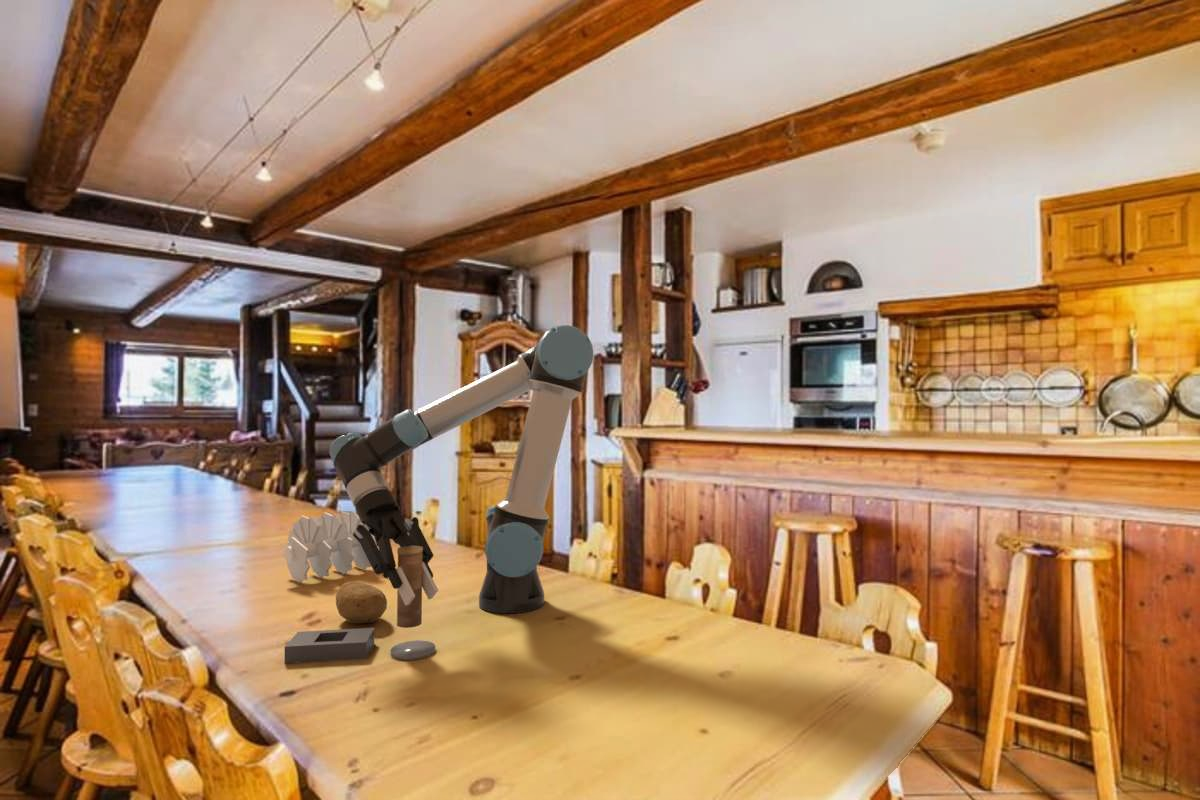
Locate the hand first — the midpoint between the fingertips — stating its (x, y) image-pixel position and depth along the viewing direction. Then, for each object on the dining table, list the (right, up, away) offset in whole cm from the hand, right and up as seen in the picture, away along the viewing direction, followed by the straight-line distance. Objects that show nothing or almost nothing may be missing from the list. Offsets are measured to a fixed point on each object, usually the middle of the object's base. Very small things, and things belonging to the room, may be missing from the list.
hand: (422, 597), depth 120 cm
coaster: (-2, -11, +2) cm, 11 cm away
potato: (-18, -11, +20) cm, 29 cm away
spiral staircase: (-41, -12, +60) cm, 74 cm away
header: (-17, -11, +2) cm, 21 cm away
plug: (-3, -6, +2) cm, 7 cm away
